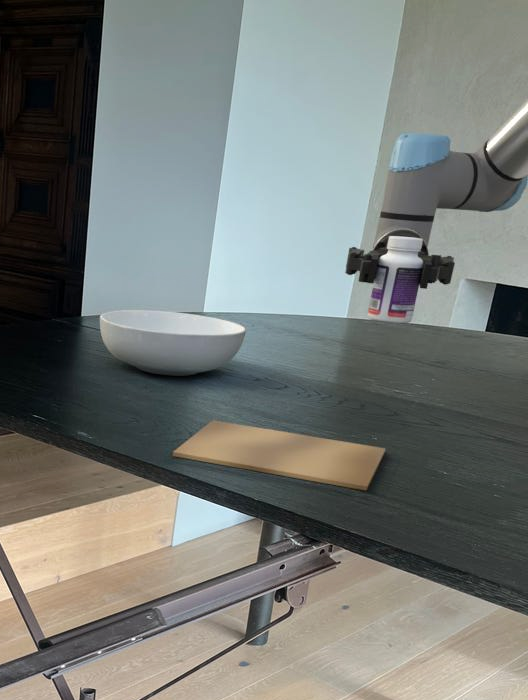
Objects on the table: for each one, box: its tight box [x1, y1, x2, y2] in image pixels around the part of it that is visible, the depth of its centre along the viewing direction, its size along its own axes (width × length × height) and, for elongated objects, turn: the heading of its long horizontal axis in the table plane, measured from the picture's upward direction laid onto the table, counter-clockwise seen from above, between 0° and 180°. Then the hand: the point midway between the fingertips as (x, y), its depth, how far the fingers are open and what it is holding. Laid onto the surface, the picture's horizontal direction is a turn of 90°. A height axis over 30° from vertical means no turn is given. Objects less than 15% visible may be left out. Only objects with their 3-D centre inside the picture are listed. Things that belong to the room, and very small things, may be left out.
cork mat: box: [172, 419, 387, 491], centre depth 107 cm, size 20×16×1 cm
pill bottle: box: [367, 236, 423, 324], centre depth 122 cm, size 5×5×10 cm
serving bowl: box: [99, 309, 247, 377], centre depth 143 cm, size 21×21×7 cm
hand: (399, 273), depth 117 cm, fingers closed on pill bottle, 5 cm apart
